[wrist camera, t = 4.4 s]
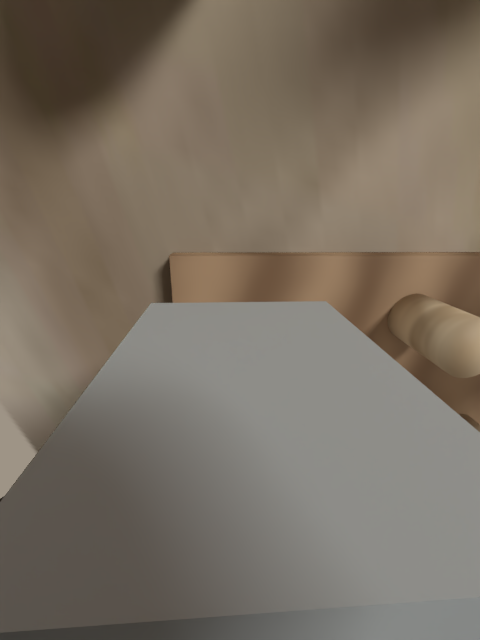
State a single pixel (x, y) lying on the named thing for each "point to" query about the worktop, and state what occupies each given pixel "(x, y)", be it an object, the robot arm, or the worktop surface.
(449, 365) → the peg
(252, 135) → the worktop surface
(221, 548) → the block
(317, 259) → the board
